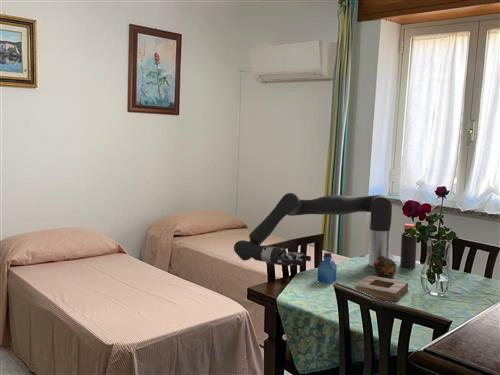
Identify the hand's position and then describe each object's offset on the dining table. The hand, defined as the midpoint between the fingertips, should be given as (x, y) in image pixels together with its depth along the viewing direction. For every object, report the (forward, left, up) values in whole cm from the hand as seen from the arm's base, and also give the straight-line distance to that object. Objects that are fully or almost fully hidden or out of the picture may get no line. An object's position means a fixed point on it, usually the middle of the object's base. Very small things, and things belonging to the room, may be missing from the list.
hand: (306, 260), depth 215 cm
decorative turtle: (-21, +28, -7) cm, 36 cm away
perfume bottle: (0, +10, -7) cm, 12 cm away
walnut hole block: (+1, +34, -7) cm, 35 cm away
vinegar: (-42, +32, -7) cm, 53 cm away
